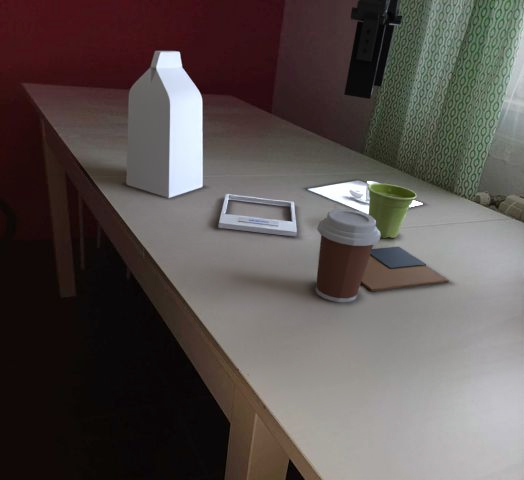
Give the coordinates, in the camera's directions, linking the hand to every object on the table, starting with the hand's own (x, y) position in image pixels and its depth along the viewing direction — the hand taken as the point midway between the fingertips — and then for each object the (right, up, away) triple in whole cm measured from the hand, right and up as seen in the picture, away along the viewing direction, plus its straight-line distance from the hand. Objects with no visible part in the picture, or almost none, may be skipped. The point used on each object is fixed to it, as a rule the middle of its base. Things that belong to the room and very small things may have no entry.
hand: (364, 90), depth 61 cm
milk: (-33, +6, +57) cm, 66 cm away
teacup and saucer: (+13, +7, +68) cm, 70 cm away
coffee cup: (0, -21, +22) cm, 30 cm away
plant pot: (+12, -6, +47) cm, 49 cm away
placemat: (+10, -15, +32) cm, 37 cm away
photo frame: (-12, -3, +47) cm, 49 cm away
